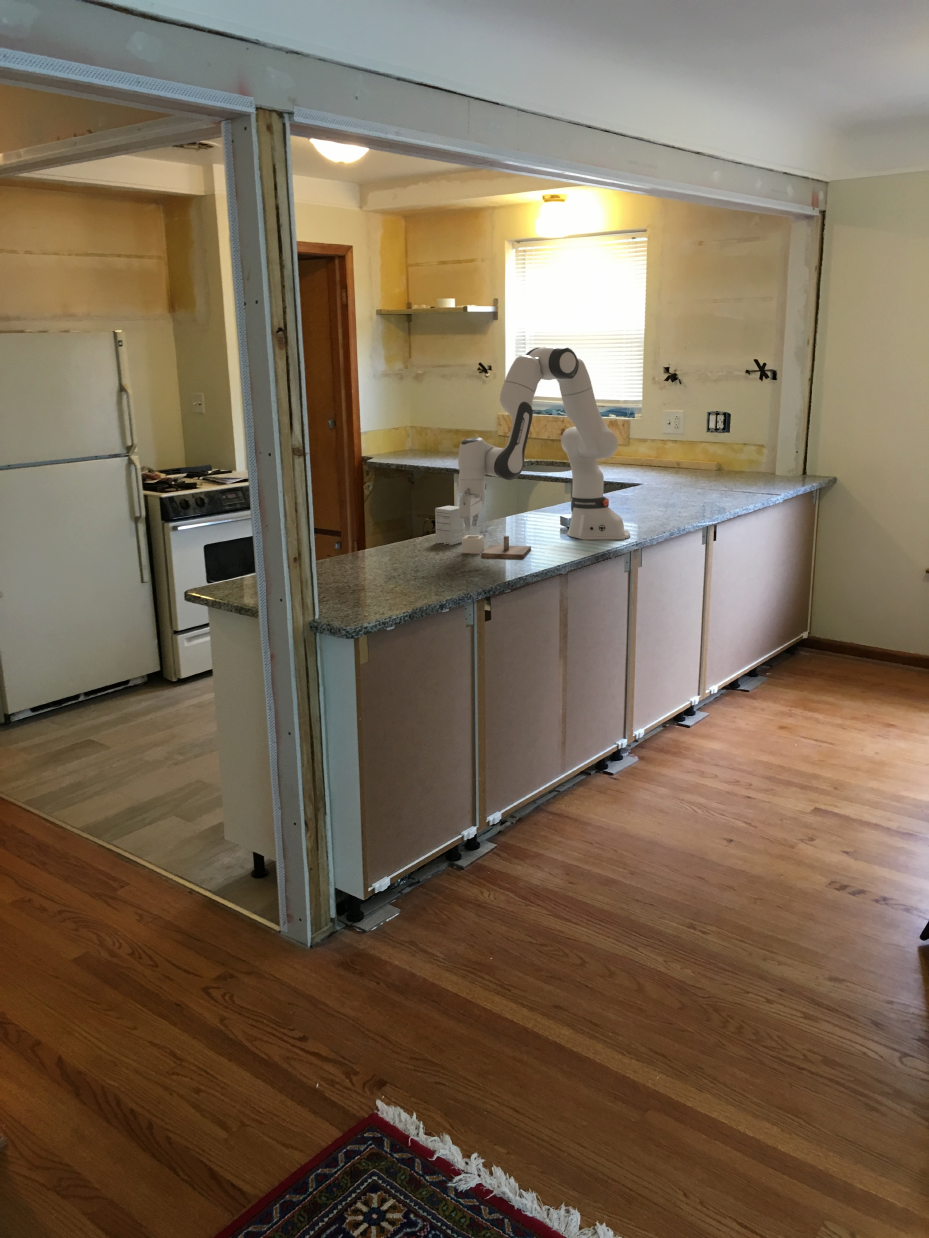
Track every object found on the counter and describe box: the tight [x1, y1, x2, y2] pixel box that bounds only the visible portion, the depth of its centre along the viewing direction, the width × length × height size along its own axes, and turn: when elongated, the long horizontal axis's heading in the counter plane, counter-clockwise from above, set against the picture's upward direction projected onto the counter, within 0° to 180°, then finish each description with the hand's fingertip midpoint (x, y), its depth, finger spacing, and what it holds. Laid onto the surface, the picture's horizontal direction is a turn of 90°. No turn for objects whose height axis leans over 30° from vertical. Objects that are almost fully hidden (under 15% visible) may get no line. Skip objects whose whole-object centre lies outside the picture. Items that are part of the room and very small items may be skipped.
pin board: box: [480, 535, 532, 560], centre depth 332 cm, size 14×14×6 cm
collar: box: [461, 534, 485, 555], centre depth 337 cm, size 6×6×5 cm
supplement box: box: [434, 505, 465, 546], centre depth 352 cm, size 7×7×13 cm
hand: (471, 528), depth 335 cm, fingers open, 8 cm apart
